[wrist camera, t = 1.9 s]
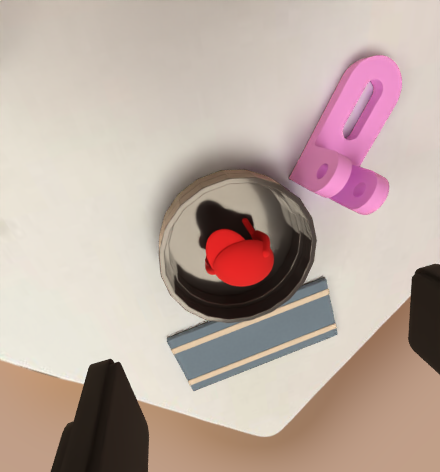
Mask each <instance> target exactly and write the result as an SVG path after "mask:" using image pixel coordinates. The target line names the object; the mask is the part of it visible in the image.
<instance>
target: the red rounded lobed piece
mask: <svg viewBox="0 0 440 472" xmlns="http://www.w3.org/2000/svg"><path fill="white" fill-rule="evenodd" d="M242 222H243V224H244V226H245V227H246V229H247V230H248V232H249V233H250V235H251V237H252V239H253V240H245V239H244V238H243V237H242V236H241V235H239V234H238V233H236V232H235V231H232V230H229V229H219V230H217V231H215V232H213V233H212V234H211V235H210V236H209V238H208V240H207V243H206V259H205V269H206V271H207V273H208V274H210V275H216V276H217V277H218V278H219V279H220V280H222V281H223V282H225V283H227V284H229V285H233V286H250V285H253V284H256V283H258V282H260V281H261V280H263V279H264V278H265V277H266V276H267V275H268V274H269V273H270V271H271V269H272V267H273V263H274V255H273V252H272V250H271V248H270V239H269V237H268V235H267V234H265V233H263V232H261V231H259V230H256V231H255V230H254V228H253V227H252V225H251V224H250V222H249V220H248V219H247V218H243V219H242Z"/></svg>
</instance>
